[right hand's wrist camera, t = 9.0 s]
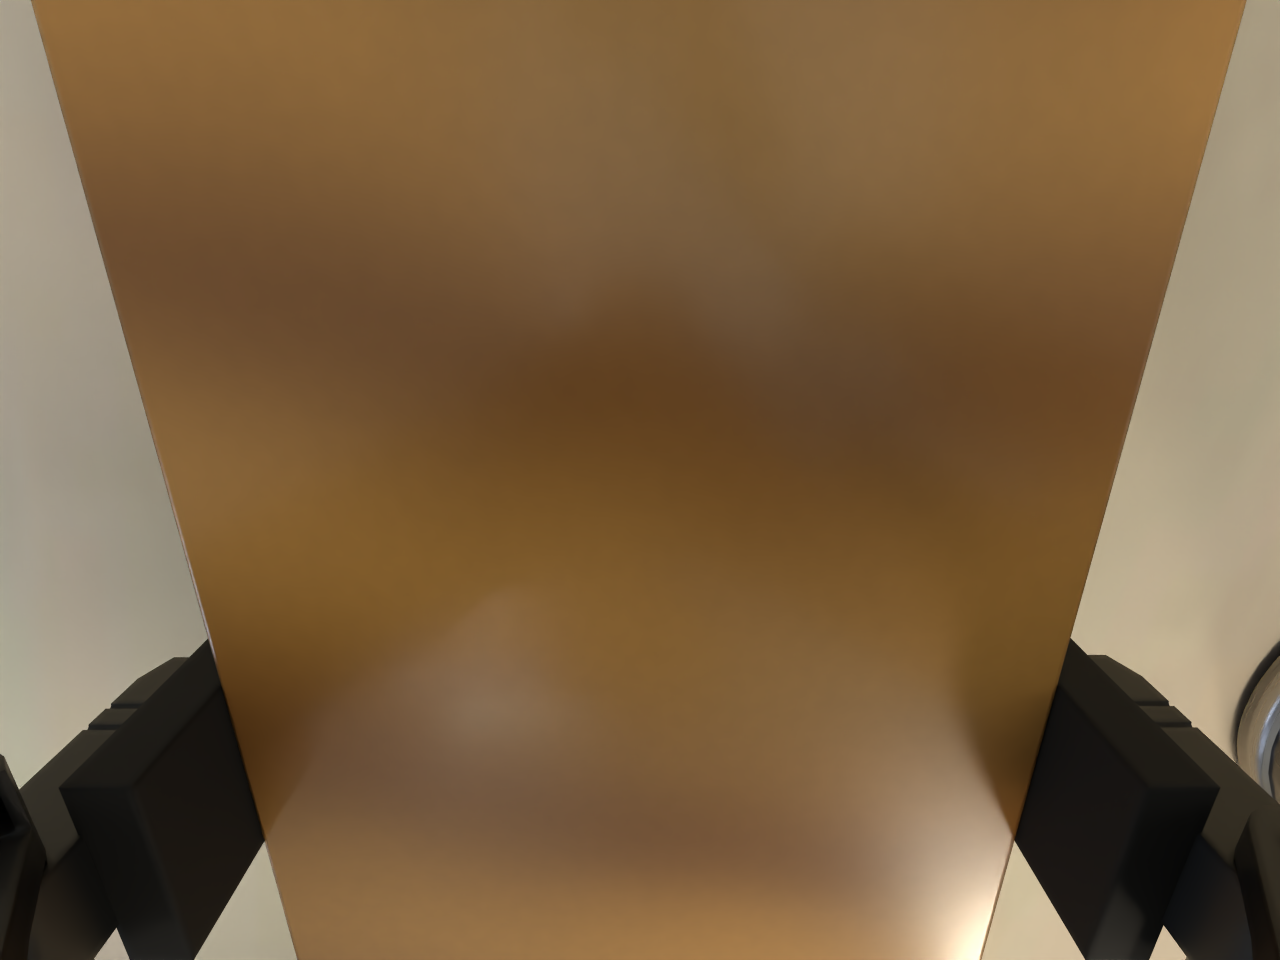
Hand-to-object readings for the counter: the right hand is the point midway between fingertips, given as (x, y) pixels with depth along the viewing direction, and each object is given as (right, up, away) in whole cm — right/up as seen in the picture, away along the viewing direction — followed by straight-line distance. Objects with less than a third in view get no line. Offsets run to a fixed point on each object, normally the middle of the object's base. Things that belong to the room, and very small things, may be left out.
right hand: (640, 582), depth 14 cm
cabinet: (0, +7, +2) cm, 7 cm away
